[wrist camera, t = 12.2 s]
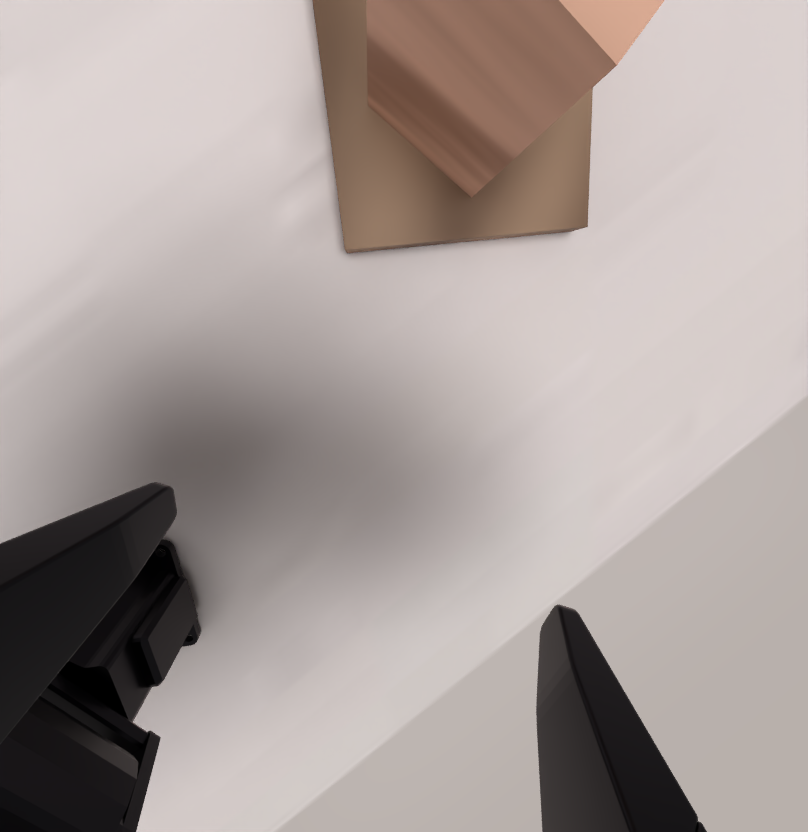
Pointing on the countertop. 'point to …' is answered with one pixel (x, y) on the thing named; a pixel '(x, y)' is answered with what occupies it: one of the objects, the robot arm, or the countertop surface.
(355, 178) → the base board
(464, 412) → the countertop surface
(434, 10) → the pillar
